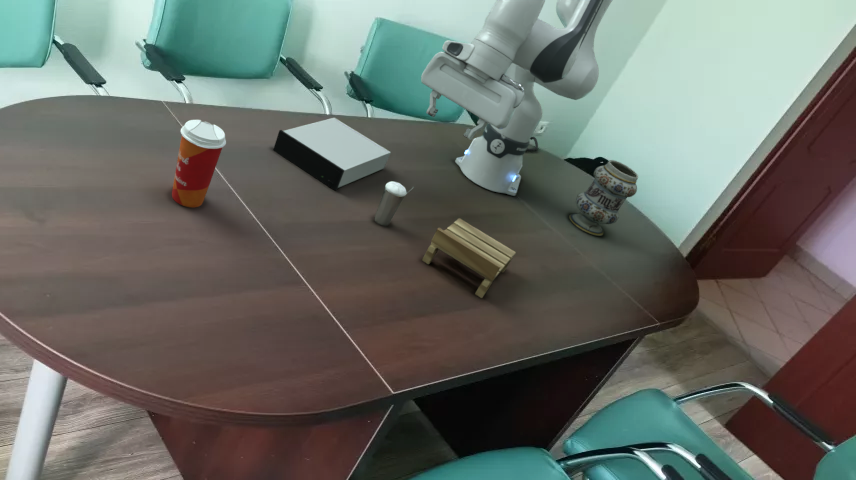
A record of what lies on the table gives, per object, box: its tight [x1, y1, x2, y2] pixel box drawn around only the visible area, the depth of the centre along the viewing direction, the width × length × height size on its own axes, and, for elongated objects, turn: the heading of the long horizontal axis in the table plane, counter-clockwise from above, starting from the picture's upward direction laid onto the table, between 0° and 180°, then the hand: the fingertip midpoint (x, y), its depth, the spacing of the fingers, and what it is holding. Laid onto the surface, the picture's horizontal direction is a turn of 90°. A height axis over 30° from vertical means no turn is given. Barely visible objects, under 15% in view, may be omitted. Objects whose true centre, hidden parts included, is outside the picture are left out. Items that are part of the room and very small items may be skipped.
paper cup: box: [171, 119, 227, 208], centre depth 117 cm, size 8×8×14 cm
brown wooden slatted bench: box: [421, 217, 516, 299], centre depth 137 cm, size 17×14×8 cm
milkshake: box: [373, 180, 415, 227], centre depth 138 cm, size 4×5×10 cm
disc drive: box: [272, 117, 391, 191], centre depth 154 cm, size 18×22×5 cm
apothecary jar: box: [569, 159, 639, 237], centre depth 176 cm, size 12×12×18 cm
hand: (448, 126), depth 136 cm, fingers open, 8 cm apart
